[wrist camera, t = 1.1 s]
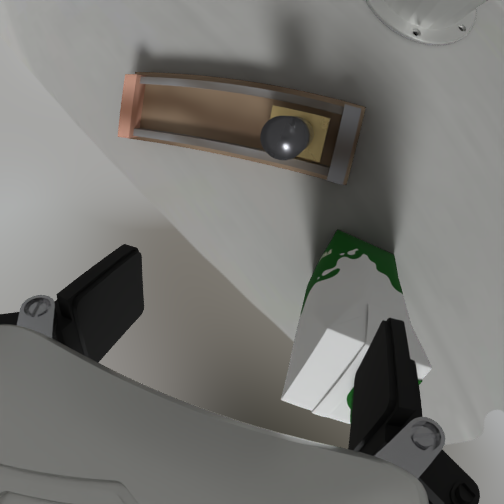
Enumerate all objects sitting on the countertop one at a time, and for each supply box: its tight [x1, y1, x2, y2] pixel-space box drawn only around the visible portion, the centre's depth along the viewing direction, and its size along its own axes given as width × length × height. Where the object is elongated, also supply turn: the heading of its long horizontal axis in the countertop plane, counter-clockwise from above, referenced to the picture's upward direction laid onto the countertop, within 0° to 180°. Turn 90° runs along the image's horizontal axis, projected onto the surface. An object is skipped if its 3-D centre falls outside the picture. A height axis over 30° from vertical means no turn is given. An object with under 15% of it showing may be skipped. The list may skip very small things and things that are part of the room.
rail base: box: [118, 72, 366, 185], centre depth 30 cm, size 8×25×4 cm, turn 80°
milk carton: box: [281, 230, 432, 424], centre depth 26 cm, size 9×9×20 cm
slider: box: [260, 105, 331, 162], centre depth 24 cm, size 4×5×10 cm
